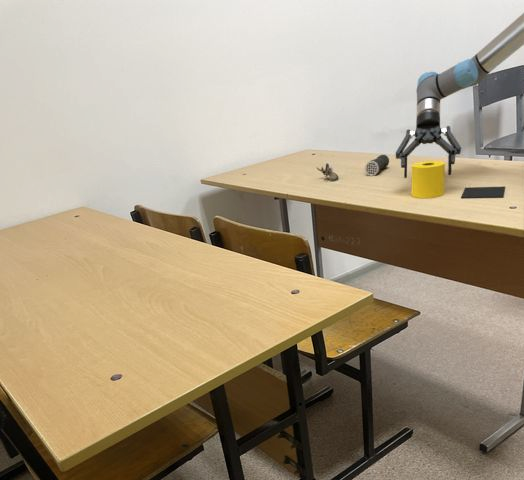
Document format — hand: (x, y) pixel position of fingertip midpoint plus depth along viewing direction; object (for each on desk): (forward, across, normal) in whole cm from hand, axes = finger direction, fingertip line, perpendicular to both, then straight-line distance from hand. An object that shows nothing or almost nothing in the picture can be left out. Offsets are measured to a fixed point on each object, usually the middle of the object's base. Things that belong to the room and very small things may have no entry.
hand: (427, 174), depth 170 cm
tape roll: (+5, 0, -5) cm, 7 cm away
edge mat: (+7, -17, -2) cm, 18 cm away
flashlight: (-24, +18, -34) cm, 45 cm away
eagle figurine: (-18, +37, -28) cm, 50 cm away
